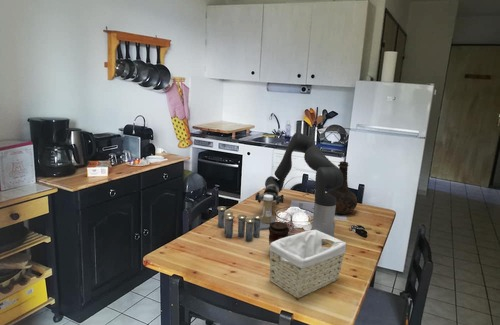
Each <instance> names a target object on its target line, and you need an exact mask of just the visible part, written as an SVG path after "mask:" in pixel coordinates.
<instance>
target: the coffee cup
mask: <svg viewBox="0 0 500 325" xmlns="http://www.w3.org/2000/svg"><path fill="white" fill-rule="evenodd" d="M289 232H290V228H289V227H288V224H287V223H285V222H282V221H279V222H272V223H270V226H269V228H268V233H269V234H268V243H269V246H270V243H272V242H274V241H276V240H279V239H281V238H285V237H288V236H289ZM268 256H270V252H268Z"/></svg>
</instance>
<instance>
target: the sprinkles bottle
mask: <svg viewBox="0 0 500 325" xmlns="http://www.w3.org/2000/svg"><path fill="white" fill-rule="evenodd" d="M272 201H273V196H272V195H268V194H267V195H264V201H263V202H262V204H263V205H262V222H263V223H271V216H273V215H272V212H273V202H274V201H273V202H272Z"/></svg>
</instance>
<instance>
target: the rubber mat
mask: <svg viewBox="0 0 500 325" xmlns="http://www.w3.org/2000/svg"><path fill="white" fill-rule="evenodd" d="M252 218H253V217H252ZM275 218H276V217H274V216H273V215H271V223H272V222H275ZM253 219H254V218H253ZM253 224H254V222H253ZM269 226H270V223H263V222H262V218H261V220H260V231H266V230H268V231H269V229H268V228H269Z"/></svg>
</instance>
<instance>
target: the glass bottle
mask: <svg viewBox="0 0 500 325" xmlns="http://www.w3.org/2000/svg"><path fill="white" fill-rule="evenodd" d="M349 166H350V165H349V162H347V161H339V164H338V165H337V167H338V168H339V169H340V170H341V172H342V174H343V184H342V186H341V187H339V188H335V189H328V191H325V193H327V194H330V195H332V196H334V197H335V198H336V208H335V214H337V215H347V214H349V213H352V212H354V210H355V209H356V208H357V205H358V197H357V195H356V194H355V192H353V191H351V190H350V189H349V185H348V184H349V183H348V170H349V169H348V168H349Z"/></svg>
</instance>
